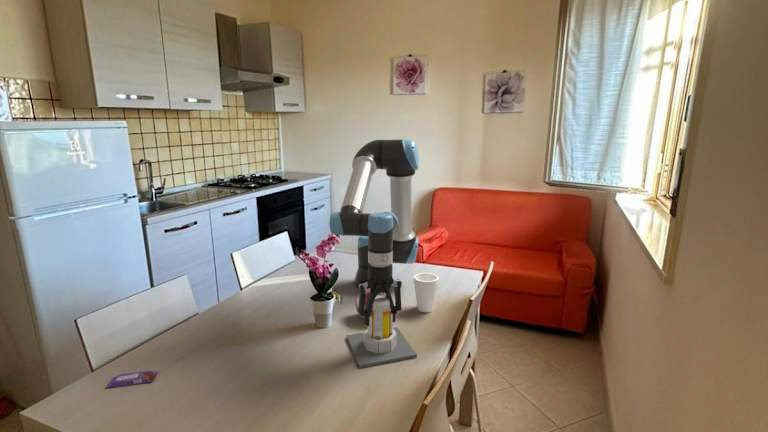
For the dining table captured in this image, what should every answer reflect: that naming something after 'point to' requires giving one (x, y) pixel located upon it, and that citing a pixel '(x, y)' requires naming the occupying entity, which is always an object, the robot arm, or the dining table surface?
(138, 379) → the snack package
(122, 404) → the dining table surface
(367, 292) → the mortar and pestle
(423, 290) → the foam cup
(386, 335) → the beer can
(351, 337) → the socket
